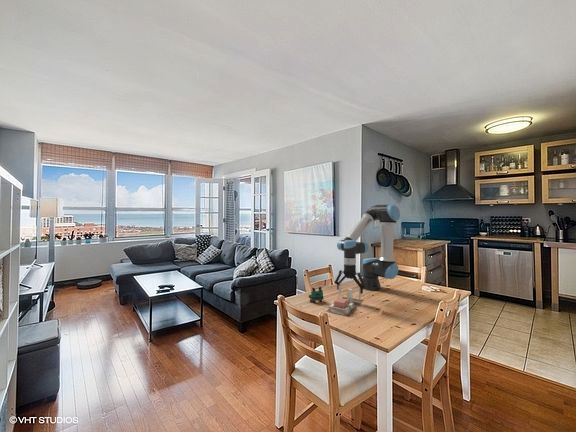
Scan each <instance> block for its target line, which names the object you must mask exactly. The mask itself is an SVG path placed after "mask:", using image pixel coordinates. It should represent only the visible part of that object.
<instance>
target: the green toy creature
mask: <svg viewBox="0 0 576 432" xmlns="http://www.w3.org/2000/svg"><path fill="white" fill-rule="evenodd" d="M322 288H323V287H322V286H319V287H318V290H316V288H315V287H312V288H311V289H312V290H311V291H310V294H309V295H308V299H309V302H311V303H312V304H316V303H317V302H318V303H320V304H321V303H323V302H324V301H323V300H324V291H323V290H322ZM316 301H317V302H316Z"/></svg>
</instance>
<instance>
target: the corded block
mask: <svg viewBox="0 0 576 432" xmlns="http://www.w3.org/2000/svg"><path fill="white" fill-rule="evenodd" d="M353 291H354V290H353V288H348V289H347V290H346V297H347V299H343V298H342V297H338V298H336V299H335V300H334V301H333V303H334V307H338V308H342V309H345V308H346V307H347V306H348V303H351V302H352V301H353V297H354V295H353V293H354V292H353Z"/></svg>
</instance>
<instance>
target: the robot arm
mask: <svg viewBox="0 0 576 432" xmlns="http://www.w3.org/2000/svg"><path fill="white" fill-rule="evenodd" d="M400 218H401V212H400V209H399V207H398V206H397V205H396V204H389V203H388V204H376V205H372V206H370V207H369V208H368V209H367V210H366V211H364V212H363V213H362V216H361V218H360V220H359V221H358V222H357V223H356V224H355V226H354V227H353V228H352V229H351V230H350V232H349V233H348V234H347V235H346V236H345V238H343V239H340V240H337V244H336V247H337V249H338V250H339V251H342V252H343V263H344V264H343V269H340V270H338V275H337V277H336V279H335V280H334V284H335V285H336V289H337V290H338V291H337V292H338V293H337V294H338V296H341V294H342V284H341V283H342V282H344V280H345V279H346V278H347V279H350V280H352V279H353V281H354V282H355V283H356V285H357V287H359V288H358V299H359V300H362V294H363V293H364V290H367V291H379V290H381V289H382V287H381V286H382V285H381V282H380V279H379V277H380V278H384V279H387V280H388V279H389V280H394V279H395V278H396V277H397V275H398V273H399V266H398V264H397V263H396V260H395V258H394V235H395V226H396V224H397V222H398V221H399V220H400ZM375 221H379V224H380V225H381V229H380V230H381V232H380V233H381V234H380V235H381V236H380V257H379V258H378V257H367V258H363V260H362V273H361V272H357V268H356V266H357V265H356V264H357V262H356V260H357V255H360V254H366V253H368V252H369V250H370V249H369V244H368V243H367V242H366V241H358V240H359V238H361V236H362V235H363V233H365V231H366V230H367V228H368V227H369V226H370V225H371V224H373V223H374V222H375ZM342 274H343V275H344V276H342ZM357 277H358V278H357Z"/></svg>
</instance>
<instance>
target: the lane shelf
mask: <svg viewBox="0 0 576 432" xmlns="http://www.w3.org/2000/svg"><path fill="white" fill-rule="evenodd" d="M341 298H343V299H347V296H342V297H341ZM363 302H364V299H359V298H353V301H352V302H351V303H348V306H347V307H346V308H345V309H342V308H338V307H334V302H333V303H331V304H330V305H329V306H328V309H327V310H326V312H328V313H333V314H337V315H342V316H345V317H350V316H351V315H352V314H353V313H354V312H355V311H356V309H357V308H359V306H360V305H361V304H362V303H363Z"/></svg>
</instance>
